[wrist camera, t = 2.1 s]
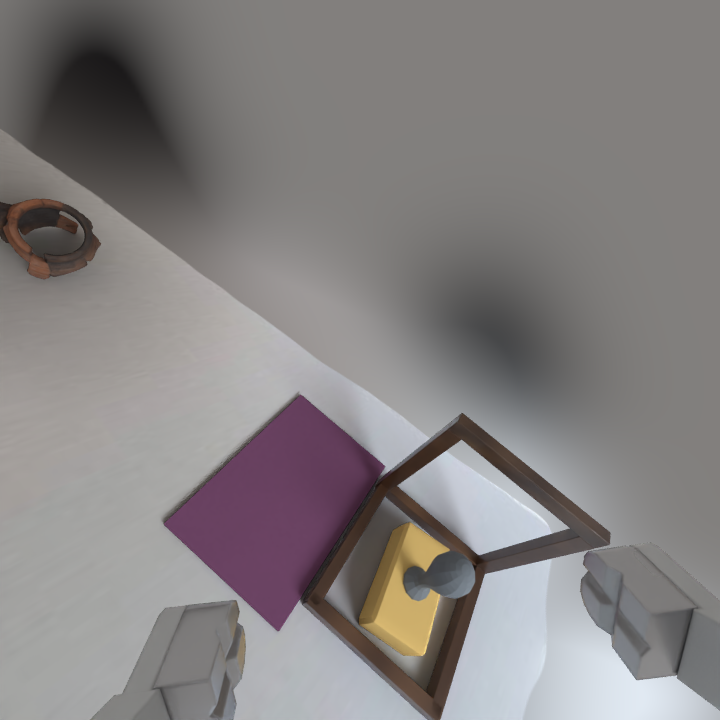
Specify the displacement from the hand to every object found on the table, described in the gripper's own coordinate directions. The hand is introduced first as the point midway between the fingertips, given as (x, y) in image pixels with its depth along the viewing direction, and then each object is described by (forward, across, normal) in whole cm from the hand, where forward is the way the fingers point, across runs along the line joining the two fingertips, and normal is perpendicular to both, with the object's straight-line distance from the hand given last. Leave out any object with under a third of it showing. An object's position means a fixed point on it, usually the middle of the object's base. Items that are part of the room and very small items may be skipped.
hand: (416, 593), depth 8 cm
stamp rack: (+23, -3, +26) cm, 35 cm away
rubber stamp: (+23, -3, +26) cm, 35 cm away
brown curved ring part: (+44, +36, -10) cm, 58 cm away
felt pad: (+28, +8, +17) cm, 34 cm away
